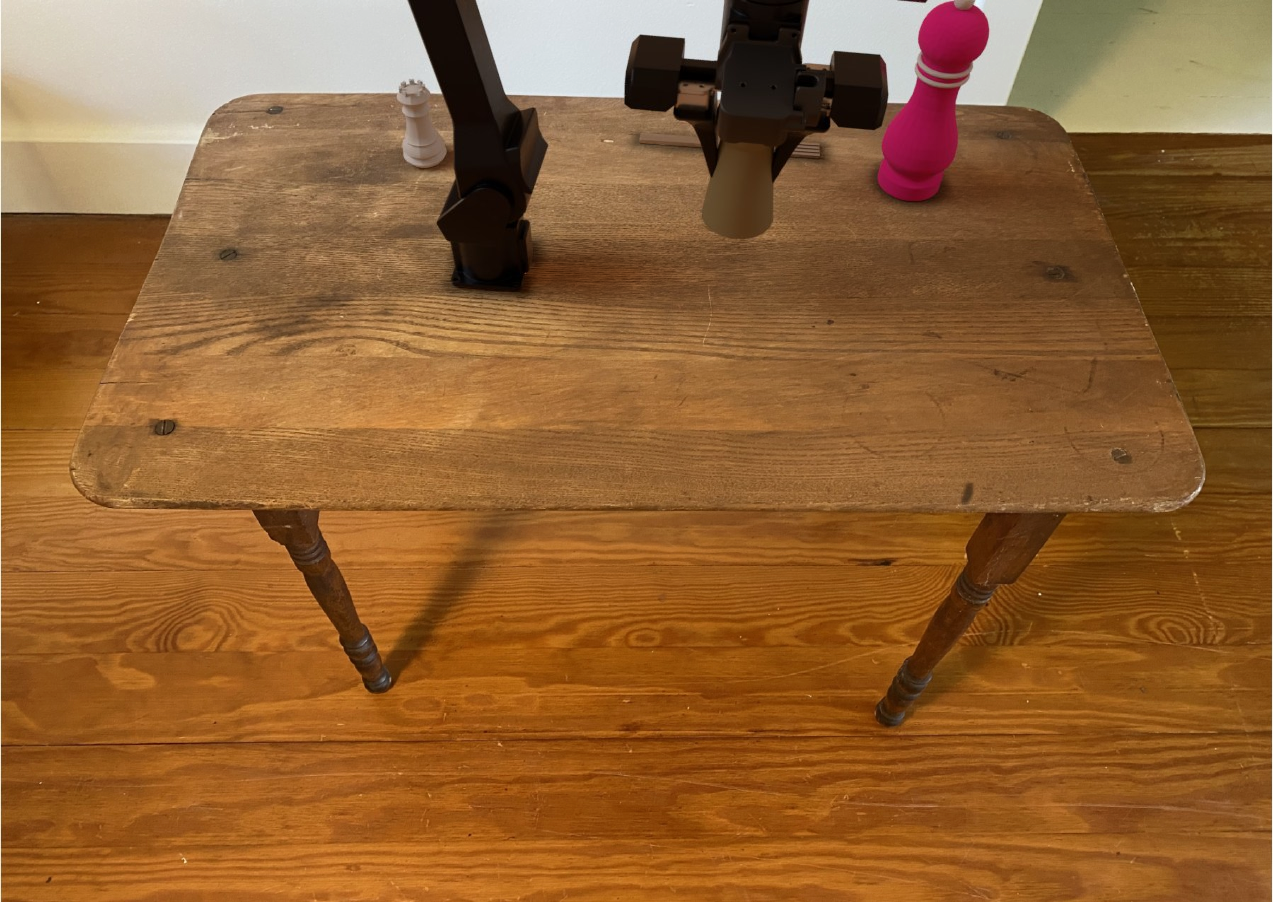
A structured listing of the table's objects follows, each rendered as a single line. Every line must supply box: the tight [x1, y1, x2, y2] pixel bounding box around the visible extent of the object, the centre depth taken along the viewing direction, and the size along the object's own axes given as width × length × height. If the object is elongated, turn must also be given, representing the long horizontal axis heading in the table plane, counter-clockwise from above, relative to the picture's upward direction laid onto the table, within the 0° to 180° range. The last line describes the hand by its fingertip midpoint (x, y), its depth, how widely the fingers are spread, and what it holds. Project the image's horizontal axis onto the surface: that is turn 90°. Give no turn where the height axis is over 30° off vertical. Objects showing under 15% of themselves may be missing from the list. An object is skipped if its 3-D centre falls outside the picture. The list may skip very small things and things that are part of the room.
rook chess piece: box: [396, 78, 447, 169], centre depth 92 cm, size 4×4×8 cm
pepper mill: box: [877, 0, 990, 202], centre depth 86 cm, size 7×7×20 cm
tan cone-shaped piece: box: [701, 102, 774, 240], centre depth 73 cm, size 6×6×11 cm
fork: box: [639, 132, 821, 160], centre depth 97 cm, size 19×2×1 cm, turn 85°
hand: (741, 177), depth 74 cm, fingers closed on tan cone-shaped piece, 4 cm apart
